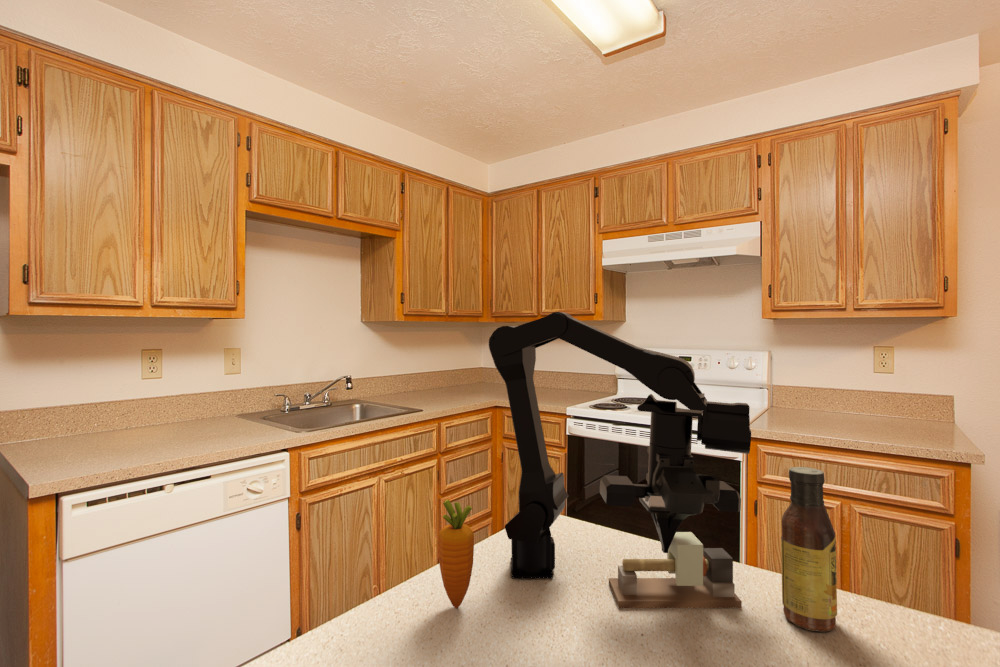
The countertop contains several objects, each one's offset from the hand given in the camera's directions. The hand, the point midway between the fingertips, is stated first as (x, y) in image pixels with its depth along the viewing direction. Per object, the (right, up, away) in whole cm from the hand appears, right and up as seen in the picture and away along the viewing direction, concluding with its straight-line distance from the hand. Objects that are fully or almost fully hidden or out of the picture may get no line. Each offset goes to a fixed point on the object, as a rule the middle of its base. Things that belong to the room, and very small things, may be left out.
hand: (664, 552), depth 72 cm
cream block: (+3, -4, 0) cm, 5 cm away
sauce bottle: (+17, -7, -6) cm, 19 cm away
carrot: (-30, -7, -3) cm, 31 cm away
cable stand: (+1, -6, 0) cm, 7 cm away
